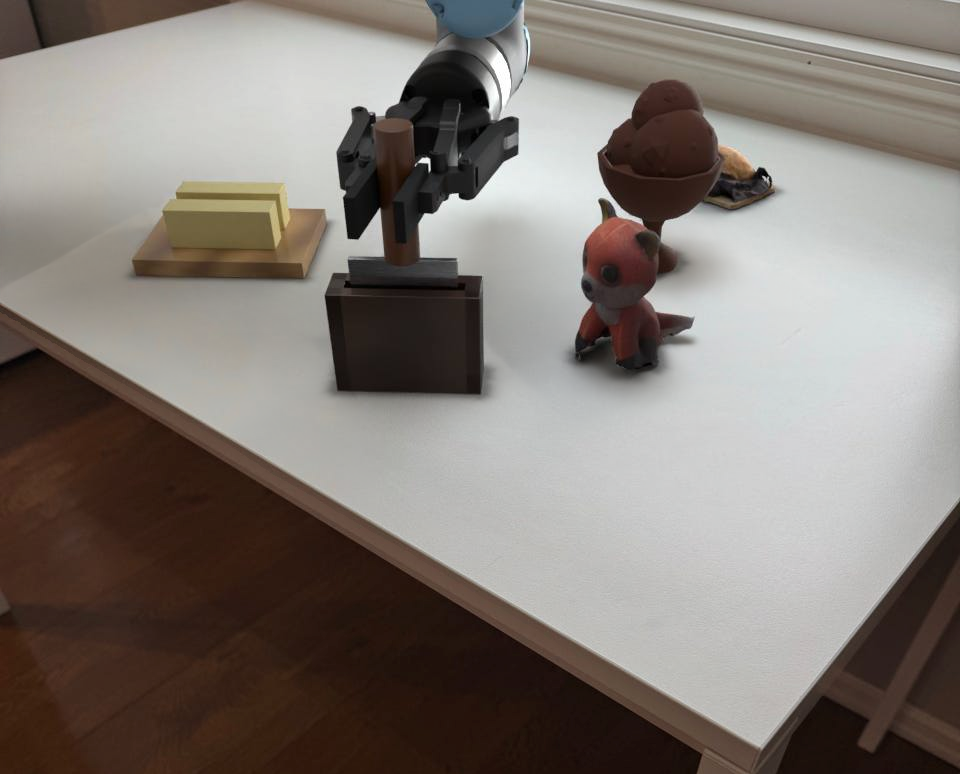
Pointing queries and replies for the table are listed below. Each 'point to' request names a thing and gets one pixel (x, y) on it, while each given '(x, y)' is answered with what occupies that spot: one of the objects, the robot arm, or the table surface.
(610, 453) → the table surface
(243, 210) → the butter
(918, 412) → the table surface
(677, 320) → the stuffed fox
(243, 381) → the table surface
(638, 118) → the ice cream bowl
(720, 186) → the tan mound on tray
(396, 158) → the cleaver knife
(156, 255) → the board
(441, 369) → the knife block
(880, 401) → the table surface
